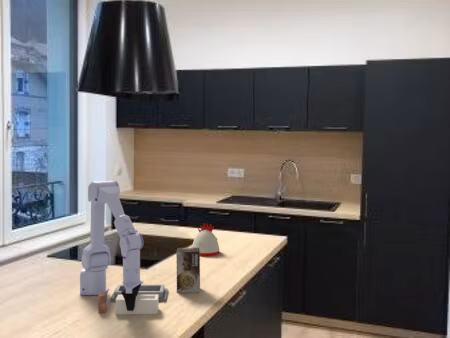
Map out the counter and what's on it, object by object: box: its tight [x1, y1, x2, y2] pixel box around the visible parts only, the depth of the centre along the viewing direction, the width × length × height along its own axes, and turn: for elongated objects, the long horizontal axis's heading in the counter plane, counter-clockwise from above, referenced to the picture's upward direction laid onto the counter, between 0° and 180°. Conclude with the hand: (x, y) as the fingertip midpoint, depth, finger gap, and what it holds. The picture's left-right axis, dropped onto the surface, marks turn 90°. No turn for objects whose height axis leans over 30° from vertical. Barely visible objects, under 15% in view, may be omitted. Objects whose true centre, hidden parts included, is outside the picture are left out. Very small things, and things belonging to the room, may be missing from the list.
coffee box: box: [175, 247, 201, 294], centre depth 206 cm, size 9×6×16 cm
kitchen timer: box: [191, 223, 220, 257], centre depth 265 cm, size 14×14×15 cm
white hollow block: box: [115, 295, 160, 315], centre depth 183 cm, size 6×14×5 cm, turn 93°
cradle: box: [109, 284, 169, 303], centre depth 199 cm, size 20×12×3 cm, turn 93°
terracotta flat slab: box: [97, 291, 108, 314], centre depth 183 cm, size 2×5×6 cm, turn 3°
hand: (131, 307), depth 183 cm, fingers closed on white hollow block, 5 cm apart
